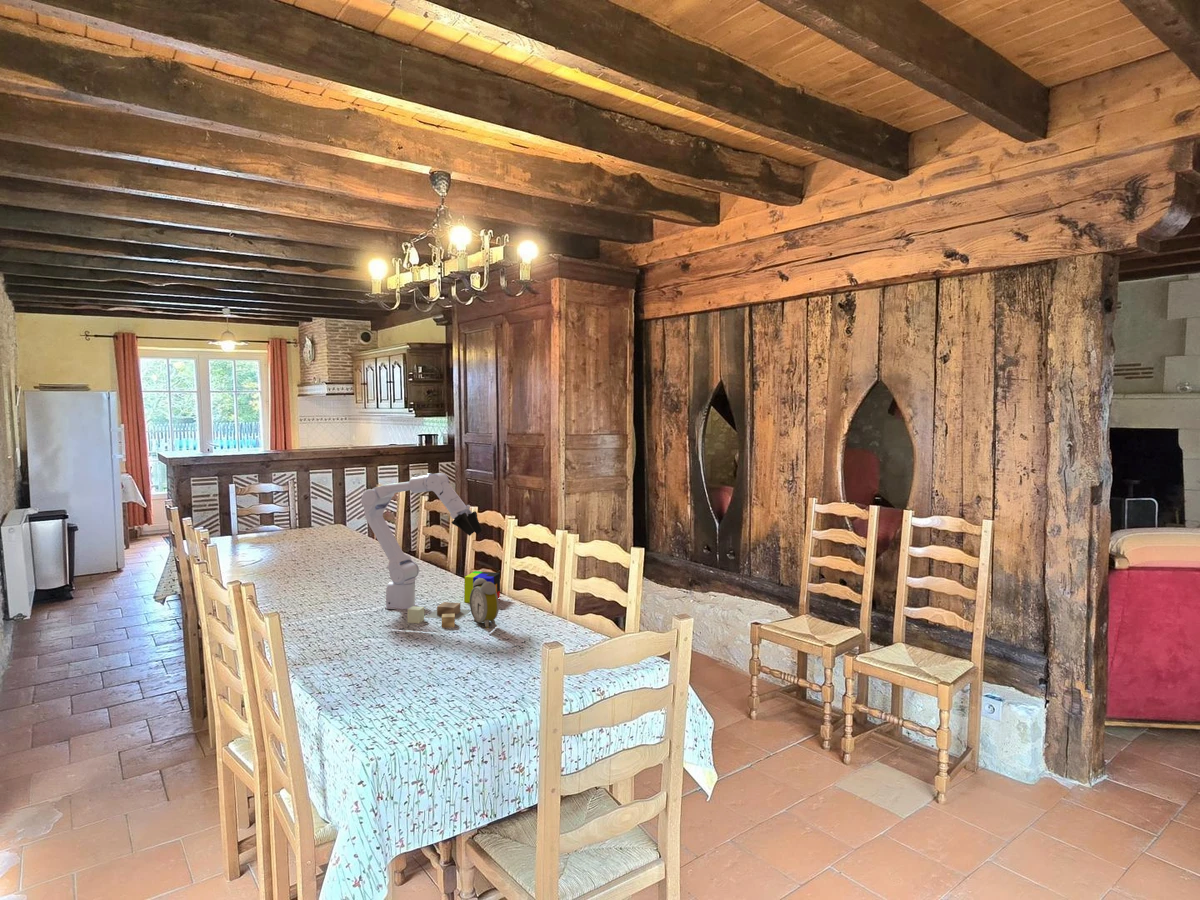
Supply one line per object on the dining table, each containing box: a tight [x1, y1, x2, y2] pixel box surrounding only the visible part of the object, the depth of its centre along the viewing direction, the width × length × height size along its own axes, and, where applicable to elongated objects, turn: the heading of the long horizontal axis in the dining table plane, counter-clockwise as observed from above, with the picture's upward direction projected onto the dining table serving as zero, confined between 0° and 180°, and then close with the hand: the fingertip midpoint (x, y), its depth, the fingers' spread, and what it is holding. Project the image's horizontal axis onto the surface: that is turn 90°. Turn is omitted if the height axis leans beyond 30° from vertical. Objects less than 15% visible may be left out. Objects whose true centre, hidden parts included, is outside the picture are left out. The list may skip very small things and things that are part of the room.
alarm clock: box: [469, 578, 500, 629], centre depth 231 cm, size 12×7×15 cm, turn 35°
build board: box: [425, 608, 471, 621], centre depth 241 cm, size 12×12×1 cm
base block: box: [436, 601, 461, 616], centre depth 241 cm, size 6×6×3 cm
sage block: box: [406, 605, 425, 624], centre depth 232 cm, size 4×4×5 cm
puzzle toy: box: [463, 570, 501, 604], centre depth 260 cm, size 10×10×10 cm
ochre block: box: [441, 614, 456, 629], centre depth 228 cm, size 4×4×4 cm
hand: (476, 533), depth 241 cm, fingers open, 7 cm apart
